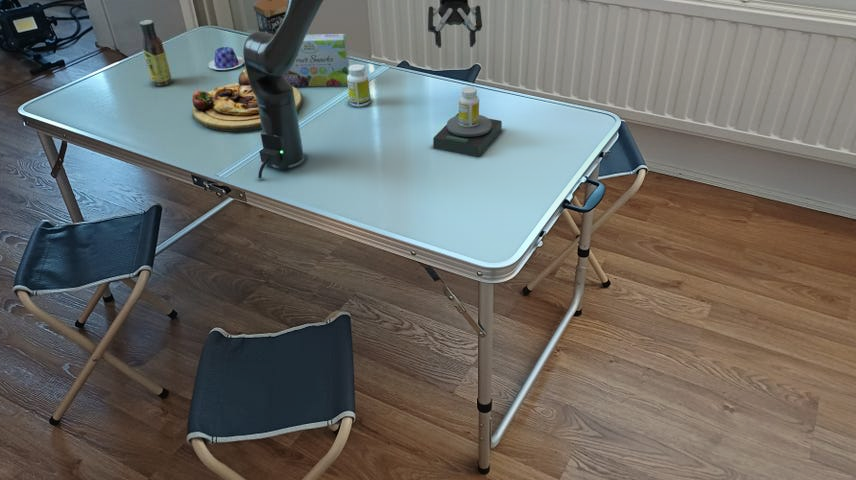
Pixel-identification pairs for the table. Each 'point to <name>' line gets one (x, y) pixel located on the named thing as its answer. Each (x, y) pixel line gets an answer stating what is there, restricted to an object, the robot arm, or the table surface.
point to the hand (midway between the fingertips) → (455, 46)
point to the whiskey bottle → (270, 14)
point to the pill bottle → (358, 86)
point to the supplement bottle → (468, 107)
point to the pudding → (225, 59)
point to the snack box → (320, 62)
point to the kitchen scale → (467, 136)
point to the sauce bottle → (155, 55)
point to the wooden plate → (231, 106)
